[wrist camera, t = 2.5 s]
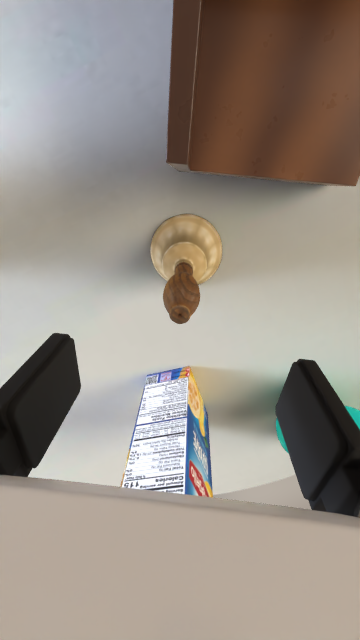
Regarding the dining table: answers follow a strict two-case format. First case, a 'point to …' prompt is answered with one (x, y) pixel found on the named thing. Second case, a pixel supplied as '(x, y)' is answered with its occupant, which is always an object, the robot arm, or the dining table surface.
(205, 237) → the hand bell
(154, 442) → the beverage box
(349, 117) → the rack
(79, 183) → the dining table surface
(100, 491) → the robot arm
